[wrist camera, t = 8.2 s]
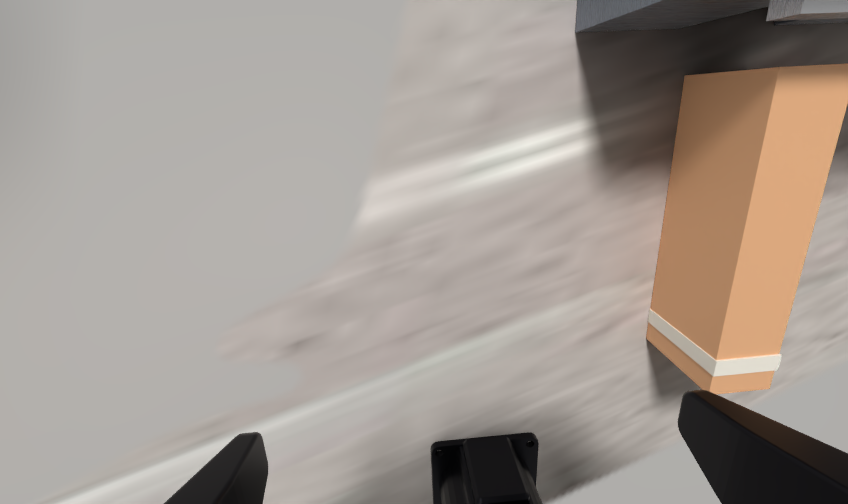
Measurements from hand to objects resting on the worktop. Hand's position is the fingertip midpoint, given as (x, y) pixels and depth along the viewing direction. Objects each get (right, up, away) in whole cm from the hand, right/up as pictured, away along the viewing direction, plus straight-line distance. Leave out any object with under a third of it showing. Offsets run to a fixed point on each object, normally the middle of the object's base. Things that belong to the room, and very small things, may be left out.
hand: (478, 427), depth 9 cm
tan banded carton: (+13, +5, +13) cm, 19 cm away
